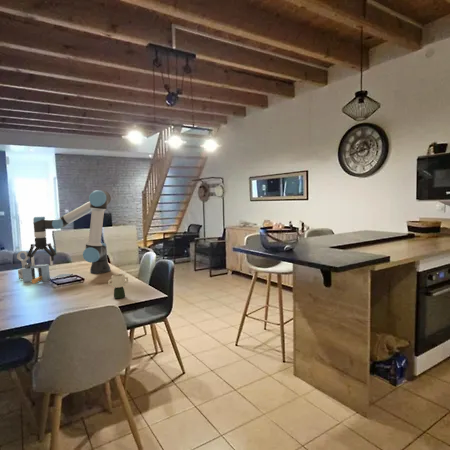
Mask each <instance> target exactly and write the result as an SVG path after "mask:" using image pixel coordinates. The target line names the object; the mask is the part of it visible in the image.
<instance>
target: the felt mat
mask: <svg viewBox="0 0 450 450" xmlns="http://www.w3.org/2000/svg"><path fill="white" fill-rule="evenodd" d="M72 275H73V273H62V274H57V275H56V276H54V277H53V278H56V277H57V278H58V277H64V276H69V277H70V276H72Z"/></svg>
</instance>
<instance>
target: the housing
mask: <svg viewBox="0 0 450 450" xmlns="http://www.w3.org/2000/svg"><path fill="white" fill-rule="evenodd" d="M24 267H25V268H23V269H22V268H21V269H22V273H23V279H22V281H23V283H31V282H30V281H32V279H35V278H36V272H35V271H36V270H35V269H38V268H41V271H42V281H41V282H48V280H49V279H51V275H50V263H48V264H35V265H33V266H32V263H27V264H26V265H25V266H24ZM49 281H50V280H49Z"/></svg>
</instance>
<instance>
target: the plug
mask: <svg viewBox="0 0 450 450" xmlns="http://www.w3.org/2000/svg"><path fill="white" fill-rule="evenodd" d="M37 270H38V276H37V277H35V279H32V282H31V284H37V283H39V282H42V281H41V280H42V271H41V268H37ZM38 281H39V282H38ZM36 282H37V283H36Z"/></svg>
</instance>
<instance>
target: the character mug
mask: <svg viewBox="0 0 450 450" xmlns="http://www.w3.org/2000/svg"><path fill="white" fill-rule="evenodd" d="M125 275H126V274H124V273H117V274H113V275H111V278H110V279H109V280H108V281H107V282H108V283H107V284H108V287H109V286H112V287H113V288H114V289H113V298H114V299H122V298H125V297H126V292H125V289H124V288H125V286H126V283H129V277H128V276H125Z"/></svg>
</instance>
